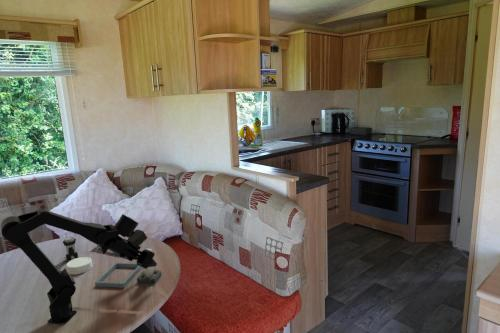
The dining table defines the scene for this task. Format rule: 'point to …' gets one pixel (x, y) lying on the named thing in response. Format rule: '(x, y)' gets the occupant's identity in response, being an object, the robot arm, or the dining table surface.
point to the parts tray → (118, 284)
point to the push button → (70, 249)
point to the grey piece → (149, 279)
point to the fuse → (148, 270)
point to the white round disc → (79, 265)
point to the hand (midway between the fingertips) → (148, 261)
